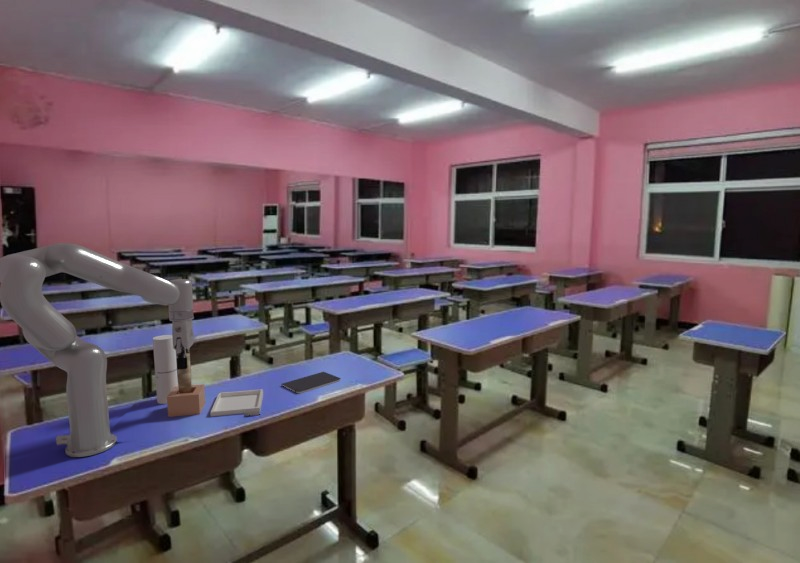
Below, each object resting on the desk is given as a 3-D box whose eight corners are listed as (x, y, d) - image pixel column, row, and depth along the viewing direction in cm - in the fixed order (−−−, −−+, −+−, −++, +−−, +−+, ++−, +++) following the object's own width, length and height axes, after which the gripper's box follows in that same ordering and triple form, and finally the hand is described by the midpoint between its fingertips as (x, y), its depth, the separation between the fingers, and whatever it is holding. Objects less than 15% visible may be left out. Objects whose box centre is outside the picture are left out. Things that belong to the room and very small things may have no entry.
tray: (210, 419, 149) (210, 412, 149) (219, 399, 167) (219, 392, 166) (259, 414, 153) (259, 407, 153) (263, 395, 170) (262, 389, 170)
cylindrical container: (169, 407, 159) (165, 340, 156) (152, 405, 161) (148, 339, 158) (183, 399, 166) (179, 335, 163) (166, 398, 168) (162, 334, 164)
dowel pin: (177, 393, 151) (175, 356, 150) (180, 389, 155) (178, 353, 154) (190, 392, 152) (188, 355, 151) (192, 388, 156) (190, 352, 154)
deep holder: (168, 419, 149) (166, 397, 148) (175, 407, 159) (174, 386, 158) (199, 416, 151) (198, 394, 150) (205, 405, 161) (204, 384, 160)
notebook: (323, 374, 196) (281, 387, 180) (323, 371, 195) (281, 383, 180) (341, 381, 187) (298, 395, 172) (341, 378, 187) (298, 391, 172)
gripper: (187, 319, 143) (190, 373, 145) (198, 310, 159) (200, 359, 162) (162, 320, 142) (165, 375, 144) (175, 311, 158) (178, 360, 160)
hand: (184, 366), depth 153 cm, fingers closed on dowel pin, 4 cm apart
